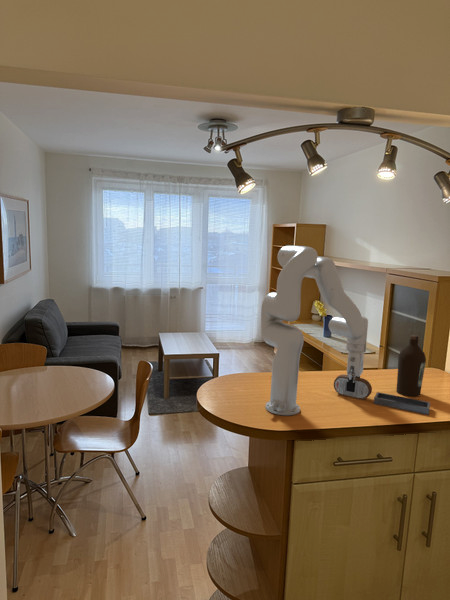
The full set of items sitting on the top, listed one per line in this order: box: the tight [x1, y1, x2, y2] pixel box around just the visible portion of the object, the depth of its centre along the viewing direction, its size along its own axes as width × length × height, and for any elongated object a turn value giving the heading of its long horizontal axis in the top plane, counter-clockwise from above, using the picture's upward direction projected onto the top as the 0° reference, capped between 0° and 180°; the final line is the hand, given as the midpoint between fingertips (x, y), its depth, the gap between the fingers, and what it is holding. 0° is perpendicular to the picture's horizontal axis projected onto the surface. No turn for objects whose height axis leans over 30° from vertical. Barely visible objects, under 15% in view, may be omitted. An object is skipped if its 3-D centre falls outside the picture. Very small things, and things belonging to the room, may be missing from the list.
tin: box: [333, 374, 373, 400], centre depth 174 cm, size 15×3×8 cm, turn 59°
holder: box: [373, 391, 431, 416], centre depth 167 cm, size 8×20×2 cm, turn 62°
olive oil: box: [395, 334, 427, 398], centre depth 181 cm, size 11×11×25 cm
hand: (352, 387), depth 174 cm, fingers open, 9 cm apart
